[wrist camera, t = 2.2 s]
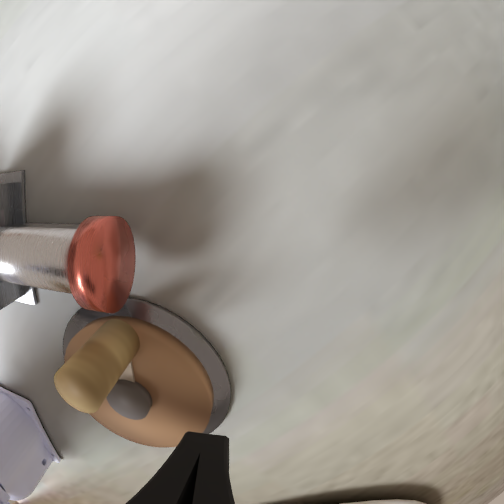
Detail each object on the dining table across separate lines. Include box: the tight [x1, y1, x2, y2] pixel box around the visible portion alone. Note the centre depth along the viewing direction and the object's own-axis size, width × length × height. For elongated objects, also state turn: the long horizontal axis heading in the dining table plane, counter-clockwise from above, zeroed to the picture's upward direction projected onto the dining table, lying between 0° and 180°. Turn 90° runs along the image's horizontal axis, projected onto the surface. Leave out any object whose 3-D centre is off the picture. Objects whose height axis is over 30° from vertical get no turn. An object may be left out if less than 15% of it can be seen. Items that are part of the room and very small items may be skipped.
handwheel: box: [54, 316, 214, 447], centre depth 15 cm, size 10×10×6 cm
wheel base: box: [63, 297, 231, 434], centre depth 18 cm, size 12×12×1 cm
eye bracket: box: [0, 170, 80, 310], centre depth 13 cm, size 9×10×7 cm
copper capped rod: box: [0, 216, 135, 313], centre depth 13 cm, size 4×13×4 cm, turn 87°
